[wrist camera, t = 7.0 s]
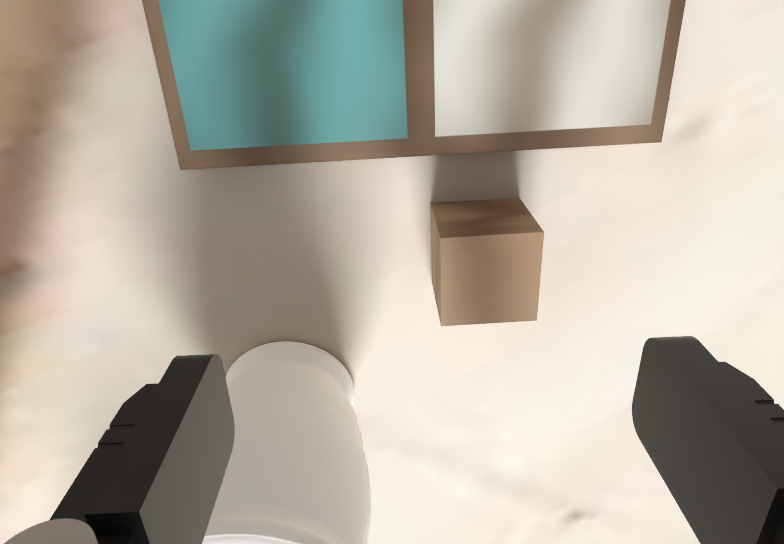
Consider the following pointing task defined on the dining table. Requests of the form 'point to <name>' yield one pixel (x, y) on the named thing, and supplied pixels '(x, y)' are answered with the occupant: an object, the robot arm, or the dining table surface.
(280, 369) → the jar
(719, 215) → the dining table surface
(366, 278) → the dining table surface
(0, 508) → the dining table surface
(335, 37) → the board
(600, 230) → the dining table surface
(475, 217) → the walnut block
